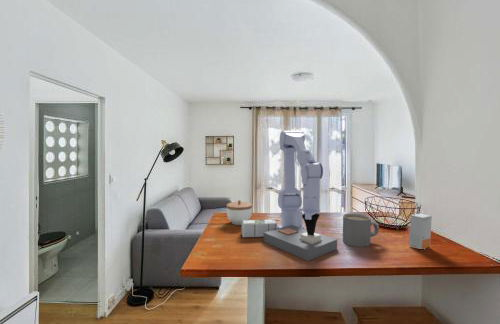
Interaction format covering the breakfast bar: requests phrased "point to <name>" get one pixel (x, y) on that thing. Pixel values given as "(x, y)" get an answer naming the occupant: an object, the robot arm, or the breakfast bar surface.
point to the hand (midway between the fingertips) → (310, 234)
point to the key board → (300, 243)
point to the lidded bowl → (239, 211)
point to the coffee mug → (358, 229)
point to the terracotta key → (288, 231)
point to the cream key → (311, 238)
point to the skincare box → (420, 231)
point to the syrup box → (257, 227)
